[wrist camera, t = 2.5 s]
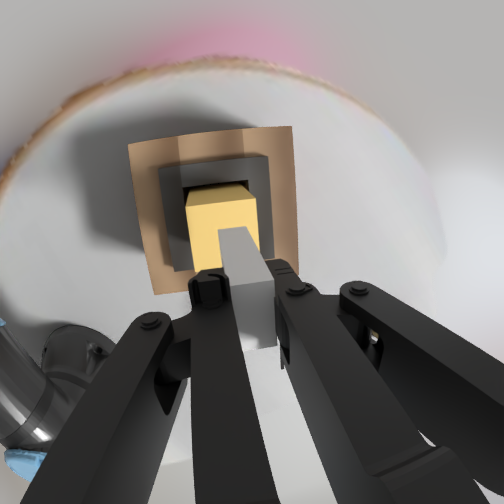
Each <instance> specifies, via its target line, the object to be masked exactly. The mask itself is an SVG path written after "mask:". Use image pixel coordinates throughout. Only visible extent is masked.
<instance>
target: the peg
mask: <svg viewBox="0 0 504 504" xmlns="http://www.w3.org/2000/svg"><path fill="white" fill-rule="evenodd" d="M185 208H186V215H187V222H188V229H189V236H190V243H191V249H192V255H193V262H194V268H195V272H199V271H200V270H205V269H213V268H220V267H222V262H221V254H220V246H219V238H218V229H226V228H234V227H243V226H246V227H247V229H248V231H249V233H250V235H251V237H252V238H253V240H254V242H255V244H256V246H257V248H258V250H259V252H260V247H259V234H258V221H257V208H256V198H255V197H254V196H253V195H252V194H251V193H249V192H248V191H247V190H246V189H245V188H244V187H243V186H242V185H241V184H240V183H239V182H234V183H225V184H217V185H208V186H200V187H193V188H190V191H189V195H188V199H187V203H186V207H185Z"/></svg>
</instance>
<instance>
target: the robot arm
mask: <svg viewBox="0 0 504 504" xmlns="http://www.w3.org/2000/svg"><path fill="white" fill-rule="evenodd" d="M218 238H219V246H220V254H221V262H222V267H220V268H213V269H205V270H200V271H199V273H198V274H197V275H196V276H194V277H192V278H191V279H190V280H189V281H188V283H187V284H188V290H189V295H190V300H191V305H192V311H191V312H190V313H189V314H187V315H185V316H183V317H181V318H178V319H175V320H172V321H171V318H170V317H169V315H167V314H166V313H163V312H148V313H145V314H143V315H141V316H139V317H137V318H136V319H135V320H134V321H133V322H132V323H131V325H130V326H129V327H128V329H127V330H126V332H125V333H124V335H123V336H122V337H121V339H120V340H119V342H118V343H117V345H116V344H115V343H114V342H112V341H111V340H110V339H109V338H107V337H106V336H104V335H102V334H101V333H99V332H97V331H94V330H92V329H89V328H86V327H81V326H64V327H61V328H59V329H57V330H55V331H54V332H53V333H52V334H51V335H50V337H49V339H48V340H47V342H46V344H45V346H44V349H43V354H42V363H41V369H40V367H39V366H38V365H37V364H36V363H35V362H34V361H33V359H32V358H31V357H30V356H29V355H28V353H27V352H26V351H25V350H24V348H23V347H22V346H21V345H20V343H19V342H18V341H17V339H16V338H15V337H14V336H13V334H12V333H11V332H10V330H9V329H8V327H7V326H6V325H5V324H6V322H5V321H4V320H2V319H1V318H0V443H1V444H2V445H3V446H4V447H5V448H6V449H7V450H6V451H5V452H4V455H5V462H6V464H7V465H8V466H9V467H10V469H11V470H12V471H14V472H15V473H16V474H18V475H19V476H21V477H22V478H24V479H26V480H27V481H29V482H31V483H30V485H29V487H28V489H27V491H26V493H25V495H24V497H23V499H22V500H21V502H20V504H147V503H148V500H149V497H150V494H151V491H152V488H153V485H154V481H155V478H156V475H157V472H158V469H159V466H160V463H161V460H162V457H163V454H164V451H165V448H166V445H167V442H168V439H169V436H170V433H171V430H172V427H173V424H174V421H175V418H176V415H177V412H178V409H179V407H180V404H181V401H182V398H183V395H184V392H185V389H186V386H187V380H188V379H187V378H189V377H191V428H192V454H193V473H194V488H195V501H196V504H281V503H280V501H279V498H278V495H277V491H276V487H275V484H274V480H273V476H272V472H271V468H270V465H269V461H268V457H267V452H266V449H265V445H264V440H263V437H262V432H261V428H260V424H259V420H258V416H257V412H256V407H255V403H254V399H253V395H252V390H251V386H250V382H249V377H248V373H247V369H246V364H245V360H244V355H243V351H249V350H255V349H261V348H267V347H273V346H277V336H278V339H279V341H280V359H281V369H284V365H285V368H286V370H287V373H288V376H289V378H290V381H291V384H292V386H293V389H294V391H295V394H296V397H297V399H298V402H299V404H300V407H301V410H302V413H303V415H304V418H305V420H306V423H307V426H308V428H309V431H310V434H311V436H312V439H313V441H314V444H315V447H316V449H317V452H318V454H319V457H320V459H321V462H322V465H323V467H324V470H325V472H326V475H327V478H328V480H329V482H330V485H331V488H332V491H333V493H334V496H335V498H336V501H337V503H338V504H490V503H489V502H488V500H487V499H486V497H485V496H484V494H483V493H482V491H481V489H480V488H479V486H478V485H477V483H476V482H475V481H474V479H475V480H476V481H477V482H479V483H480V484H481V485H483V486H484V487H485V488H487V489H489V490H490V491H492V492H494V493H496V494H498V495H501V496H503V497H504V364H503V363H502V362H500V361H499V360H497V359H495V358H494V357H492V356H491V355H489V354H487V353H486V352H484V351H483V350H481V349H480V348H478V347H476V346H475V345H473V344H472V343H470V342H468V341H467V340H465V339H463V338H462V337H460V336H459V335H457V334H455V333H453V332H452V331H450V330H449V329H447V328H445V327H444V326H442V325H441V324H439V323H437V322H436V321H434V320H432V319H431V318H429V317H427V316H426V315H424V314H422V313H420V312H419V311H417V310H415V309H414V308H412V307H410V306H409V305H407V304H405V303H403V302H402V301H400V300H398V299H397V298H395V297H393V296H391V295H390V294H388V293H386V292H385V291H383V290H381V289H379V288H378V287H376V286H374V285H372V284H370V283H367V282H362V281H352V282H348V283H345V284H343V285H342V286H341V288H340V295H322V294H320V293H319V291H318V290H317V289H316V287H314V286H313V285H312V284H309V283H306V282H302V281H301V280H300V278H299V277H298V275H297V274H296V273H295V271H294V270H293V268H292V267H291V266H290V264H289V263H288V262H287V261H285V260H283V259H281V258H280V259H273V260H266V261H264V259H263V257H262V255H261V254H260V252H259V250H258V248H257V246H256V244H255V242H254V240H253V238H252V237H251V235H250V233H249V231H248V229H247V227H246V226H243V227H234V228H226V229H218ZM372 330H373V331H374V332H376V333H377V334H378V340H377V342H376V341H374V340H373V339H372V338H371V336H372ZM418 430H419V431H420V432H421V433H422V434H423V435H424V436H425V437H426V438H428V439H429V440H430V441H431V442H432V443H433V444H434V445H436V447H432V446H430V445H429V444H428V443H427V442H426V441H425V440H424V438H423V437H422V435H421V434H420V433H419V431H418Z"/></svg>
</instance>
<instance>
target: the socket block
mask: <svg viewBox="0 0 504 504" xmlns="http://www.w3.org/2000/svg"><path fill="white" fill-rule="evenodd" d="M128 151H129V159H130V167H131V175H132V182H133V189H134V195H135V202H136V208H137V214H138V219H139V225H140V230H141V236H142V241H143V246H144V251H145V256H146V260H147V265H148V270H149V274H150V278H151V283H152V287H153V291H154V295H159V294H167V293H175V292H183V291H189V290H188V284H187V283H188V281H189V280H190V279H191V278H192V277H194V276H196V275H197V274H198V273H199V272H195V268H194V262H193V255H192V249H191V243H190V236H189V229H188V222H187V215H186V208H185V207H186V203H187V199H188V195H189V191H190V186H197V185H205V184H213V183H221V182H230V181H235V182H239V183H240V184H241V185H242V186H243V187H244V188H245V189H246V190H247V191H248V192H249V193H251V194H252V195H253V196H254V197H255V198H256V208H257V221H258V234H259V247H260V254H261V255H262V257H263V259H264V261H266V260H273V259H280V258H281V259H283V260H285V261H287V262H288V263H289V264H290V266H291V267H292V268H293V270H294V271H295V273H296V274H297V275H299V264H298V229H297V204H296V183H295V166H294V150H293V135H292V126H279V127H259V128H245V129H232V130H222V131H212V132H203V133H195V134H187V135H180V136H173V137H166V138H160V139H154V140H148V141H143V142H137V143H132V144H128Z"/></svg>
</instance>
